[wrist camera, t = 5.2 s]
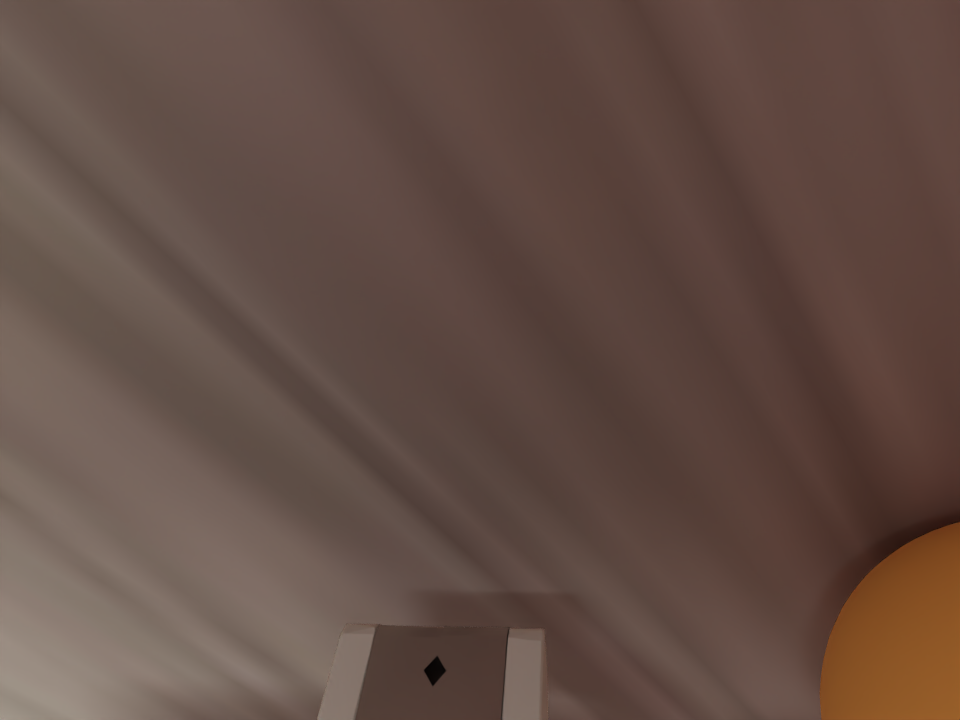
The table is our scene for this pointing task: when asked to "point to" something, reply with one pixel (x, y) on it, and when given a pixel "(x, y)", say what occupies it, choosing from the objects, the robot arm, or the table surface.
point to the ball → (899, 638)
